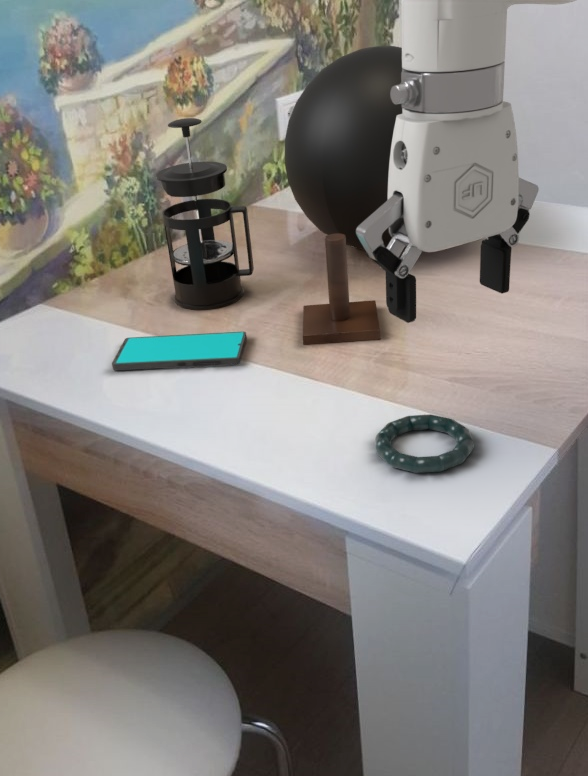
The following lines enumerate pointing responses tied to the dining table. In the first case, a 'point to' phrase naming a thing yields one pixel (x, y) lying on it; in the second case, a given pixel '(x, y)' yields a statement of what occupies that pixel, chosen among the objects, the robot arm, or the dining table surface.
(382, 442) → the ring
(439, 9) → the robot arm
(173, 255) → the french press
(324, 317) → the brown peg stand
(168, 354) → the smartphone
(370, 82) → the ball
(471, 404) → the dining table surface
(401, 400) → the dining table surface
